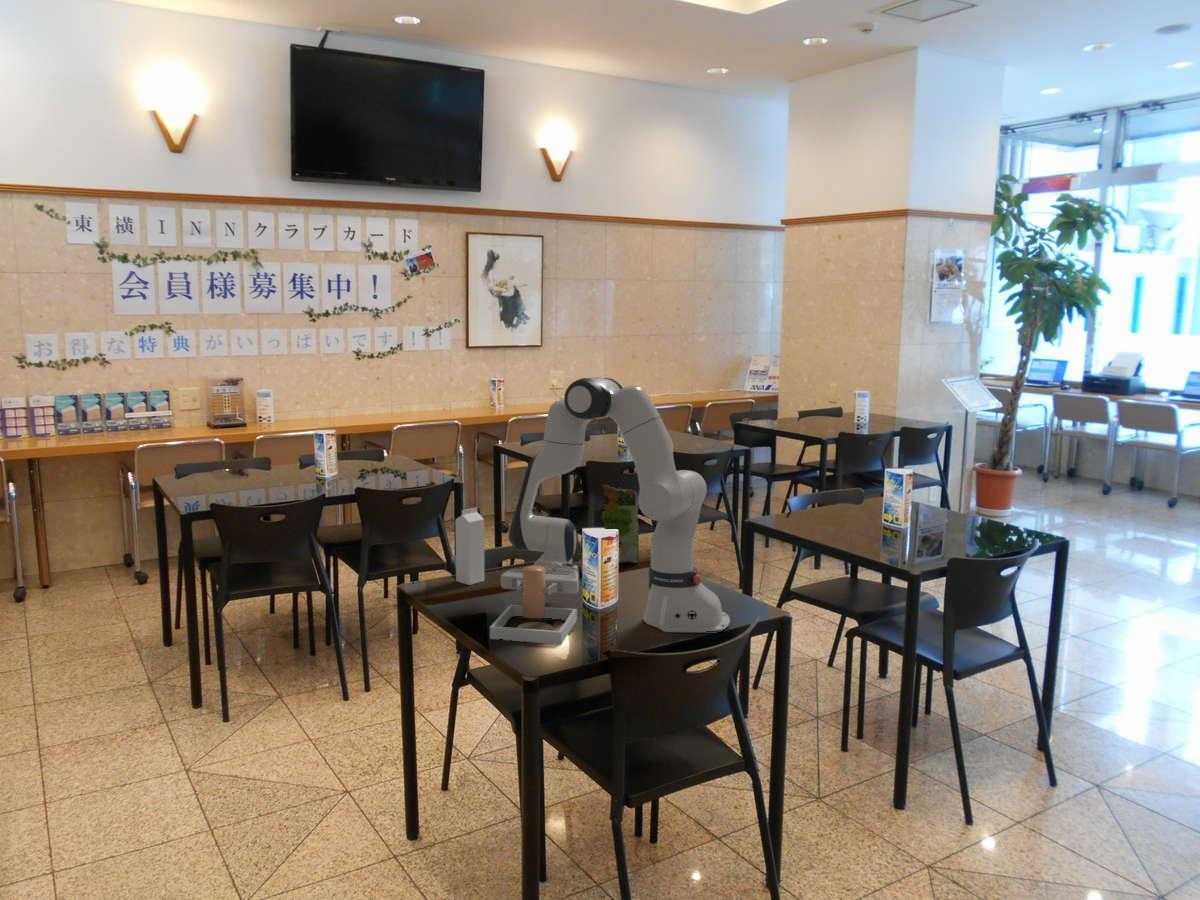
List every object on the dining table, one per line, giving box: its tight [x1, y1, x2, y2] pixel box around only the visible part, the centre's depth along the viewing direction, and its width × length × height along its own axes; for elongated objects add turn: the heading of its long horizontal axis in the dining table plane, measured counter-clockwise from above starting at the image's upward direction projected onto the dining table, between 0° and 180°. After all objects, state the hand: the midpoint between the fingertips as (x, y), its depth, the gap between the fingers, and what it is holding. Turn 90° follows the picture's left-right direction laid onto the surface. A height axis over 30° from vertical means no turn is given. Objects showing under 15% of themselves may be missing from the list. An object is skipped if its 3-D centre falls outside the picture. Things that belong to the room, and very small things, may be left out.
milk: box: [454, 506, 485, 586], centre depth 273 cm, size 6×6×22 cm
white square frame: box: [489, 603, 578, 645], centre depth 234 cm, size 18×18×3 cm
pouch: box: [601, 483, 640, 564], centre depth 295 cm, size 11×12×25 cm
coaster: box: [516, 621, 553, 631], centre depth 234 cm, size 9×9×1 cm
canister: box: [522, 565, 546, 619], centre depth 233 cm, size 6×6×12 cm
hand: (533, 590), depth 232 cm, fingers closed on canister, 6 cm apart
